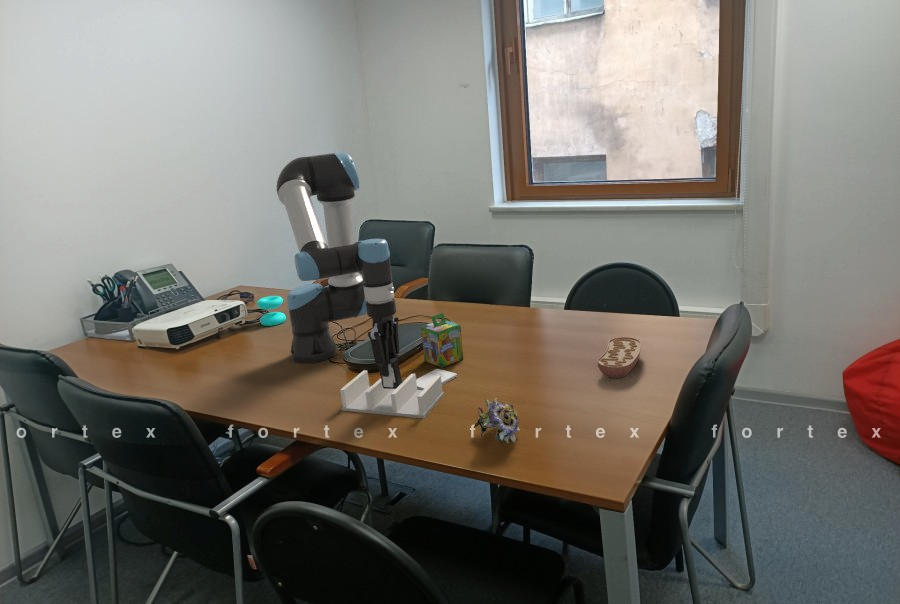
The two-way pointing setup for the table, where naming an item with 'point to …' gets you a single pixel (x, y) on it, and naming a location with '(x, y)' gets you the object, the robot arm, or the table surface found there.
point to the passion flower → (499, 421)
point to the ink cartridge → (393, 373)
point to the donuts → (272, 317)
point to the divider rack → (391, 397)
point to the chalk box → (442, 342)
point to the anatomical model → (619, 357)
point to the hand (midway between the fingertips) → (391, 384)
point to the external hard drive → (427, 378)
